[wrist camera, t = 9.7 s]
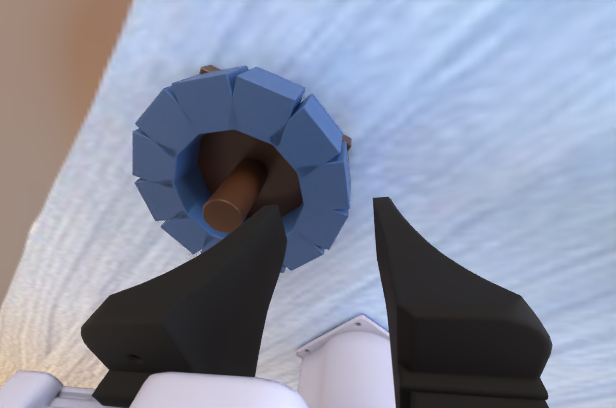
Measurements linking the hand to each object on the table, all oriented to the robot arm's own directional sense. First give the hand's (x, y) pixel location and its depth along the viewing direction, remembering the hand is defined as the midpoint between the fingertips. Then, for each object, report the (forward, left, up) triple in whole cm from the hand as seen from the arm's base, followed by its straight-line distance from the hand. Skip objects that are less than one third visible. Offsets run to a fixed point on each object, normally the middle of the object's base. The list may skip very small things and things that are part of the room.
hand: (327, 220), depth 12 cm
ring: (-4, +3, -5) cm, 7 cm away
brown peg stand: (-4, +4, -7) cm, 8 cm away
